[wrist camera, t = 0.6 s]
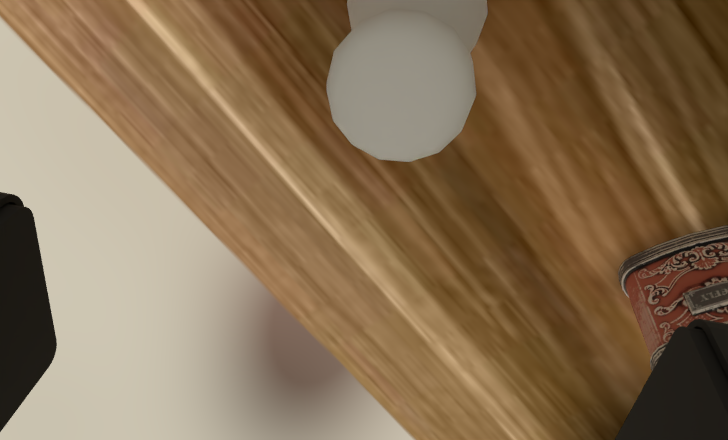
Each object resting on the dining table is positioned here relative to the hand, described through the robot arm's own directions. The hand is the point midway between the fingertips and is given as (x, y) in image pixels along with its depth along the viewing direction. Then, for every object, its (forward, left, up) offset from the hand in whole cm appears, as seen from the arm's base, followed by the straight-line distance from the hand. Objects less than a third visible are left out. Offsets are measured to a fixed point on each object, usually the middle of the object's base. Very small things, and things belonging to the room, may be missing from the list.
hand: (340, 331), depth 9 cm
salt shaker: (0, 0, -23) cm, 23 cm away
